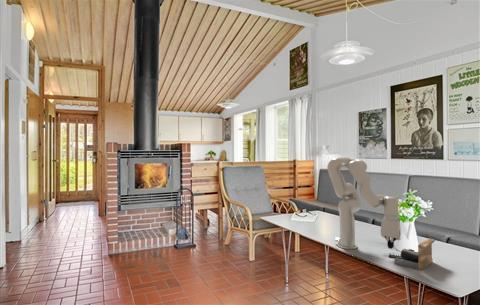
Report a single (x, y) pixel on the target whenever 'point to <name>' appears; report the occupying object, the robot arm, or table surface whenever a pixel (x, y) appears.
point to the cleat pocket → (406, 263)
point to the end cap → (409, 255)
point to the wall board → (425, 253)
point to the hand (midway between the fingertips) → (390, 248)
